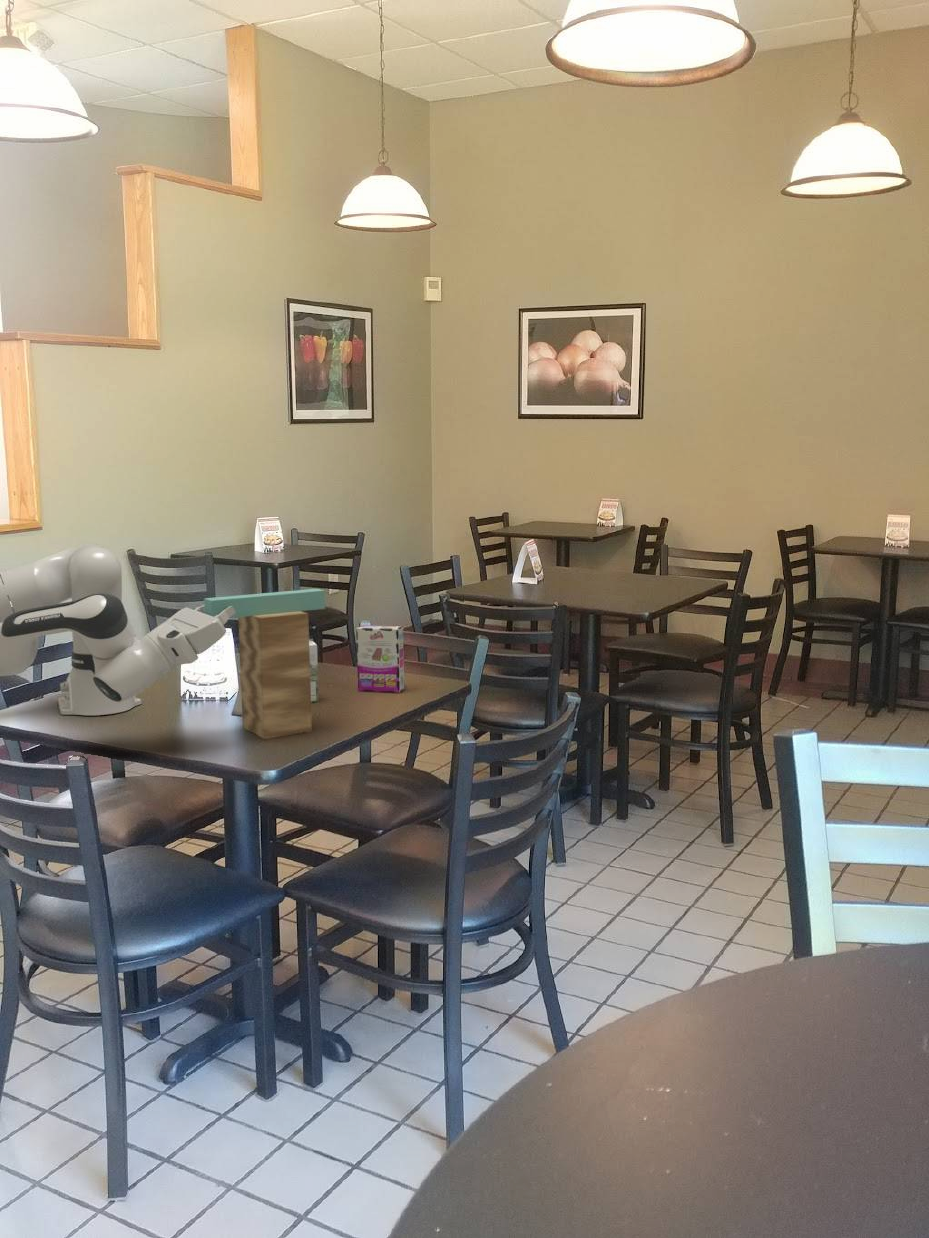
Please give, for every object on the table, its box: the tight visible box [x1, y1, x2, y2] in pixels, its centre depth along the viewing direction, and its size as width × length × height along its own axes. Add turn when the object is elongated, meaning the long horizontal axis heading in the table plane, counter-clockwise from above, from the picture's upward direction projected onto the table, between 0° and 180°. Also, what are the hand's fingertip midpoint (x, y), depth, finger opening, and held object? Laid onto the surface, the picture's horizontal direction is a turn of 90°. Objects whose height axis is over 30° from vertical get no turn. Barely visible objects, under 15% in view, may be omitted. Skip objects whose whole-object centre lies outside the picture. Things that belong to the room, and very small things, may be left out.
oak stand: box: [237, 611, 313, 740], centre depth 238 cm, size 12×11×26 cm
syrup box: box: [309, 640, 319, 703], centre depth 265 cm, size 6×6×14 cm
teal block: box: [203, 588, 326, 619], centre depth 234 cm, size 4×26×4 cm, turn 124°
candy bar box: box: [355, 625, 406, 694], centre depth 275 cm, size 11×5×16 cm, turn 76°
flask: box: [231, 669, 242, 716], centre depth 254 cm, size 7×7×10 cm
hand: (224, 605), depth 229 cm, fingers open, 8 cm apart
